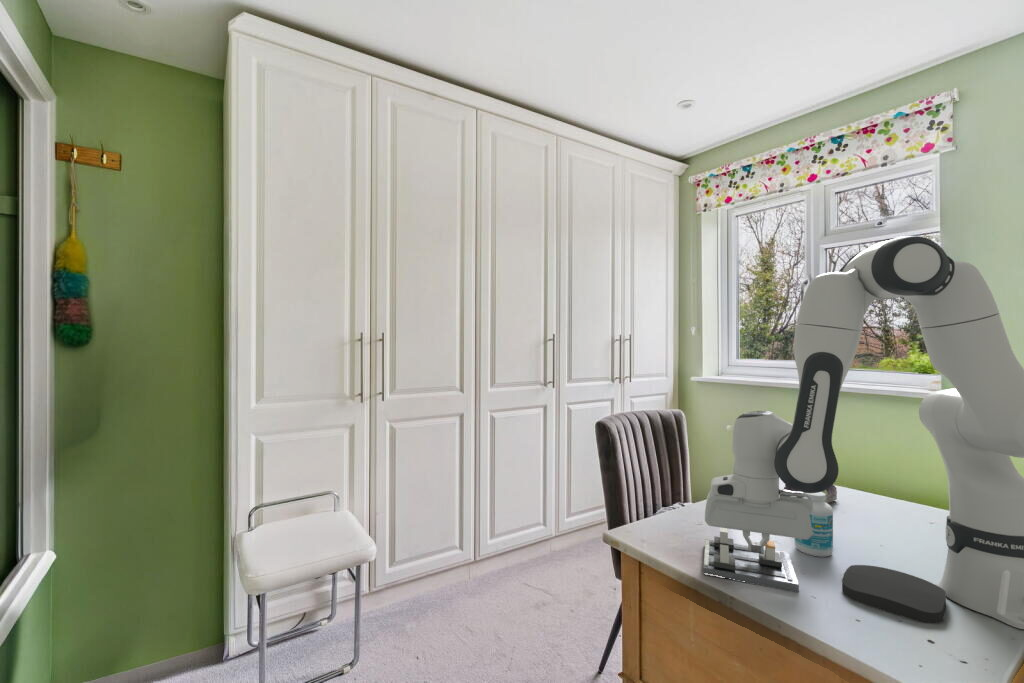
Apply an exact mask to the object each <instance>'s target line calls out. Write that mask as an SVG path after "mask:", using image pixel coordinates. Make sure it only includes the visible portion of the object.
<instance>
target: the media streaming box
mask: <svg viewBox="0 0 1024 683" xmlns="http://www.w3.org/2000/svg"><path fill="white" fill-rule="evenodd" d="M841 591H842V594H844V596H845V597H847V598H849V599H850V600H852V601H854V602H856V603H860V604H862V605H865V606H868V607H870V608H871V607H872V608H874V609H876V610H877V609H878V610H881V611H883V612H886V613H890V614H893V615H896V616H899V617H902V618H907V619H909V620H911V621H912V620H913V621H916V622H920V623H924V624H931V625H935V624H940V623H942V622H943V621H944V618H945V616H946V615H945V614H946V607H947V603H946V602H947V600H946V598H947V596H946V592H945V591H944V590H943V589H942V588H940V587H939V585H937V584H934V583H933V582H931V581H929V580H925V579H924V578H921V577H918V576H915V575H913V574H909V573H906V572H902V571H899V570H896V569H891V568H886V567H881V566H877V565H876V566H875V565H867V564H866V565H865V564H853V565H850V566H848V567H847V568H846V569H845V571H844V573H843V576H842V579H841Z"/></svg>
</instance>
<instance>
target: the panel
mask: <svg viewBox="0 0 1024 683" xmlns="http://www.w3.org/2000/svg"><path fill="white" fill-rule="evenodd" d="M703 552H704V553H703V569H702V570H703V572H704V573H708V574H713V575H718V576H722V577H725V578H731V579H735V580H740V581H745V582H749V583H748V584H750V583H754V584H753V585H756V584H758V585H757V586H761V585H764V586H763V587H767V586H770V587H769V588H772V587H774V588H773V589H778V588H779V590H784V591H789V592H796V593H800V584H799V580H798V578H797V575H796V572H795V569H794V566H793V562H792V560H791V557H790V554H789V552H788V551H784V550H777V549H775V555H780V557H781V561H782V567H777V566H771V565H765V564H760V560H759V553H754V552H749V551H748V545H747V544H746V545H744V544H738V543H734V550H733V549H729V557H732V558H735V570H731V569H725V568H719V567H714V555H720V547H714V539H713V540H712V539H704V551H703ZM764 553H765V547H764ZM745 582H744V583H745Z"/></svg>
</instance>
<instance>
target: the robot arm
mask: <svg viewBox="0 0 1024 683" xmlns="http://www.w3.org/2000/svg"><path fill="white" fill-rule="evenodd" d="M899 298H903V299H905V300H906V301H907V302H908V303H909V304H910V305H911V307H913V309H914V312H915V313H916V318H917V322H918V325H919V328H920V329H919V330H920V332H921V335H922V336H921V337H922V339H923V342H924V346H925V349H926V352H927V356H928V358H929V361H930V364H931V365H932V367H933V368H934V369H935V370H936V371H937V372H939V373H940V375H943V377H945V378H946V379H947V380H948V381H949V383H951V384H952V386H953V387H954V388H946V389H940V390H935V391H932V392H930V393H928V394H927V395H926V396H924V397H923V399H922V401H921V402H920V403H919V406H918V415H919V416H918V417H919V420H920V421H921V424H922V425H923V426H924V427H925V428H926V430H928V431H929V432H930V434H931V436H932V437H933V438H934V441H935V443H936V446H937V447H938V450H939V453H940V456H941V459H942V461H943V464H944V467H945V472H946V475H947V476H946V477H947V482H948V484H947V485H948V502H949V504H948V508H949V510H948V511H949V514H948V516H946V522H945V523H946V524H945V541H946V546H947V556H946V560H945V561H946V562H945V566H944V571H943V574H942V577H941V580H940V581H939V584H938V587H940V588H942V589H943V590H944V591H945V592H946V598H948V599H950V600H951V601H953V602H955V603H957V604H959V605H961V606H963V607H965V608H968V609H970V610H973V611H975V612H978V613H981V614H983V615H986V616H989V617H991V618H994V619H996V620H999V621H1000V622H1002V623H1004V624H1007V625H1009V626H1011V627H1014V628H1016V629H1019V630H1020V629H1021V630H1024V476H1022V475H1021V473H1020V472H1019V471H1018V470H1017V468H1016V467H1015V465H1014V462H1013V461H1012V458H1011V457H1013V458H1020V459H1024V368H1023V365H1022V364H1021V363H1020V362H1019V360H1018V358H1017V357H1016V355H1015V353H1014V351H1013V348H1012V347H1011V343H1010V341H1009V338H1008V335H1007V332H1006V329H1005V326H1004V323H1003V320H1002V318H1001V315H1000V311H999V309H998V305H997V302H996V301H995V297H994V296H993V293H992V291H991V289H990V287H989V286H988V284H987V281H986V280H985V278H984V276H983V275H982V274H981V272H980V271H979V269H978V268H977V267H976V266H975V265H973V264H972V263H969V262H965V261H956V260H955V261H954V260H953V259H952V258H951V257H950V256H949V255H947V253H946V251H945V250H944V249H943V248H942V247H941V246H940V245H939V244H938V243H936V242H935V241H934V240H932V239H930V238H927V237H924V236H920V235H919V236H917V235H906V236H905V235H904V236H898V237H895V238H892V239H889V240H885V241H881V242H877V243H875V244H873V245H871V246H869V247H868V248H866V249H864V250H861V251H859V252H857V253H855V254H854V255H853V256H851V257H850V258H849V259H848V260H847V261H846V262H845V264H843V266H842V267H840V269H839V270H838V271H834V272H831V271H830V272H826V273H821V274H819V275H817V276H815V277H814V278H813V279H811V281H810V282H809V284H808V285H807V288H806V289H805V292H804V295H803V298H802V301H801V304H800V307H799V311H798V314H797V318H796V325H795V327H794V328H795V329H794V337H793V354H794V355H793V356H794V363H795V366H796V369H797V374H798V384H799V385H798V395H797V399H796V405H795V406H796V407H795V410H794V418H793V422H792V423H791V422H789V421H787V420H785V419H783V418H782V417H780V416H778V415H777V413H775V412H773V411H769V410H756V411H748V412H744V413H742V414H740V415H738V417H737V418H736V419H735V421H734V423H733V430H732V453H733V454H732V455H733V457H734V458H733V459H734V462H733V466H732V473H731V474H727V475H721V476H716V477H713V478H712V479H711V481H710V490H709V492H708V494H707V498H706V502H705V510H704V522H705V523H706V524H707V526H709V527H716V528H720V527H721V528H728V529H729V530H736V531H741V532H742V537H743V538H744V539H745V541H746V543H747V546H748V551H749V552H754V553H760V554H764V548H765V545H766V544H767V542H768V541H771V539H770V538H771V536H779V537H786V538H793V539H795V538H798V539H805V540H808V539H809V538H810V537H811V536H812V527H811V520H810V515H809V514H810V513H811V512H812V510H813V502H812V499H811V498H810V497H809V496H808V495H805V494H804V493H818V492H822V491H824V490H826V489H828V488H829V487H831V486H832V485H834V483H836V481H837V478H838V477H839V476H838V475H839V463H838V460H837V456H836V454H835V451H834V448H833V441H832V440H833V433H834V432H833V431H834V426H835V419H836V415H837V408H838V401H839V397H840V391H841V389H842V386H843V384H844V382H845V379H846V377H847V375H848V373H849V371H850V369H851V366H852V364H853V362H854V359H855V357H856V354H857V351H858V350H859V349H858V348H859V344H860V342H861V338H862V333H863V327H864V320H865V319H864V318H865V315H866V313H867V311H868V310H869V307H870V306H871V305H872V304H873V303H874V302H875V301H878V300H882V301H883V300H895V299H899ZM780 480H781V481H782V483H784V484H786V485H787V486H789V487H790V488H792V489H794V490H796V491H799V492H792V491H788V490H784V489H780ZM804 496H805V497H807V498H805V497H804ZM751 533H756V534H757V533H758V534H760V535H761V540H760V541H759V542H757V541H752V540H751V538H750V536H751ZM770 535H771V536H770Z"/></svg>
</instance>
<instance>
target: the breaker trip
mask: <svg viewBox="0 0 1024 683" xmlns="http://www.w3.org/2000/svg"><path fill="white" fill-rule="evenodd" d="M764 548H765V553H764V554H760V553H759V560H760V564H765V565H771V566H777V567H782V561H781V557H780V555H775V550H776V543H775V541H774V540H769V541H768V542H767V544H766V545H765V546H764Z"/></svg>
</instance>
